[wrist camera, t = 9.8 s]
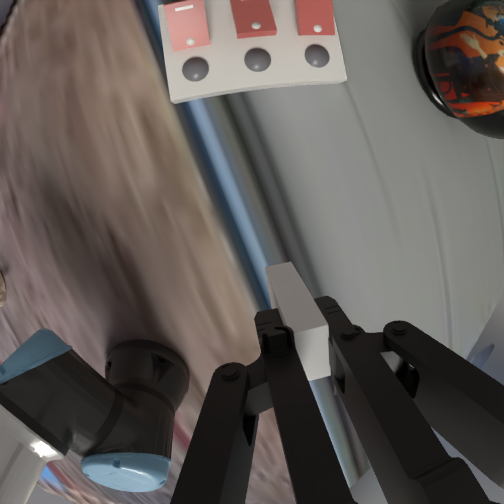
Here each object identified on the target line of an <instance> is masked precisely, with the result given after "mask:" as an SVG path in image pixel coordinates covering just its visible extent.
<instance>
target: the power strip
mask: <svg viewBox="0 0 504 504" xmlns="http://www.w3.org/2000/svg"><path fill="white" fill-rule="evenodd" d="M269 3H270V6H271V10H272V13H273V17H274V20H275V24H276V27H277V33H276V35H273V36H261V37H251V38H242V39H237V34H236V29H235V24H234V19H233V15H232V10H231V5H230V0H204V7H205V14H206V20H207V26H208V33H209V39H210V45H205V46H199V47H194V48H189V49H184V50H179V51H175V52H173V48H172V43H171V39H170V34H169V30H168V25H167V20H166V16H165V11H164V6H163V5H164V4H162V5H158V10H159V19H160V27H161V35H162V43H163V50H164V58H165V65H166V72H167V79H168V85H169V92H170V98H171V101H172V102H173V103H174V104H176V103H181V102H186V101H190V100H195V99H201V98H206V97H211V96H217V95H223V94H229V93H236V92H243V91H250V90H258V89H267V88H276V87H287V86H299V85H315V84H339V83H341V82H344V81H346V80H347V77H346V71H345V66H344V61H343V55H342V50H341V46H340V41H339V36H338V32H337V27H336V23H335V19H334V26H335V35H301V36H298V31H297V21H296V12H295V4H294V0H269ZM333 15H334V14H333Z"/></svg>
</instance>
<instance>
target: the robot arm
mask: <svg viewBox="0 0 504 504" xmlns="http://www.w3.org/2000/svg"><path fill="white" fill-rule="evenodd" d="M265 271H266V277H267V283H268V289H269V295H270V301H271V306H272V309H270V310H265V311H260V312H257V314H256V316H255V318H254V320H255V325H256V330H257V335H258V340H259V344H260V349H261V354H260V356H259V358H258V359H257V360H256V361H255V362H253V363H251V364H250V365H247V366H244V365H243V364H240V363H235V362H232V363H226V364H224V365H221V366H220V367H218V368H217V369H216V370H215V372H214V373H213V376H212V379H211V382H210V385H209V388H208V391H207V394H206V397H205V400H204V403H203V406H202V409H201V412H200V415H199V418H198V421H197V424H196V427H195V430H194V433H193V436H192V439H191V442H190V445H189V448H188V451H187V454H186V457H185V460H184V463H183V466H182V469H181V472H180V475H179V478H178V481H177V484H176V487H175V490H174V493H173V496H172V499H171V502H170V504H245V499H246V494H247V488H248V482H249V476H250V470H251V464H252V458H253V452H254V446H255V439H256V433H257V427H258V420H259V413H261V412H263V411H266V410H268V409H270V408H272V407H273V408H274V412H275V416H276V421H277V425H278V429H279V434H280V438H281V442H282V446H283V451H284V455H285V459H286V463H287V468H288V472H289V476H290V480H291V484H292V488H293V493H294V497H295V501H296V504H358V503H357V502H355V501H354V499H353V498H352V495H351V493H350V490H349V487H348V485H347V482H346V479H345V477H344V474H343V471H342V469H341V466H340V463H339V461H338V458H337V455H336V453H335V450H334V447H333V445H332V442H331V439H330V437H329V434H328V431H327V429H326V426H325V423H324V421H323V418H322V416H321V413H320V410H319V408H318V405H317V402H316V400H315V397H314V394H313V392H312V389H311V387H310V384H309V381H311V380H315V379H319V378H322V377H326V376H330V367H331V369H332V371H333V373H334V395H337V390H338V393H339V395H340V397H341V399H342V401H343V403H344V406H345V408H346V410H347V412H348V414H349V417H350V419H351V421H352V423H353V425H354V428H355V430H356V432H357V434H358V437H359V439H360V441H361V443H362V445H363V448H364V450H365V452H366V454H367V457H368V459H369V461H370V463H371V466H372V468H373V470H374V472H375V475H376V477H377V479H378V482H379V484H380V486H381V488H382V491H383V493H384V495H385V498H386V500H387V502H388V504H500V503H496V502H492V501H490V500H489V499H488V497H487V496H486V494H485V492H484V491H483V489H482V487H481V486H480V484H479V482H478V481H477V479H476V478H475V476H474V474H473V473H472V471H471V470H470V468H469V467H468V465H467V464H466V463H465V461H464V460H463V459H461V458H459V457H456V458H452V457H450V456H449V455H448V453H447V452H446V450H445V449H444V447H443V446H442V444H441V442H440V441H439V439H438V438H437V436H436V435H435V433H434V432H433V430H432V429H431V427H432V428H433V429H434V430H435V431H436V432H438V433H439V434H440V435H441V436H442V437H443V438H444V439H445V440H446V441H448V442H449V443H450V444H451V445H452V446H453V447H454V448H456V449H457V450H458V451H459V452H460V453H461V454H462V455H463V456H465V457H466V458H467V459H468V460H469V461H470V462H471V463H472V464H474V465H475V466H476V467H477V468H478V469H479V470H480V471H481V472H483V473H484V474H485V475H486V476H487V477H488V478H489V479H490V480H492V481H493V482H495V483H496V484H497V485H499V486H500V487H501V488H503V489H504V386H503V385H502V384H501V383H499V382H498V381H496V380H495V379H493V378H492V377H490V376H489V375H487V374H486V373H484V372H483V371H482V370H480V369H479V368H477V367H476V366H474V365H473V364H471V363H470V362H468V361H467V360H465V359H464V358H462V357H461V356H459V355H458V354H456V353H455V352H453V351H452V350H450V349H449V348H447V347H446V346H444V345H443V344H441V343H440V342H438V341H437V340H435V339H433V338H432V337H430V336H429V335H427V334H426V333H424V332H423V331H421V330H420V329H418V328H417V327H415V326H413V325H412V324H410V323H408V322H406V321H400V320H399V321H392V322H389V323H388V324H387V325H385V327H384V329H383V332H378V333H366V332H365V331H364V330H363V329H362V328H361V327H359V326H357V325H352V323H351V322H350V320H349V319H348V317H347V316H346V315H345V313H344V312H343V311H342V309H341V308H340V306H339V305H338V303H337V302H336V300H335V299H333V298H331V297H329V296H324V297H320V298H315V299H313V298H312V296H311V294H310V293H309V291H308V289H307V288H306V286H305V284H304V283H303V281H302V279H301V278H300V276H299V274H298V273H297V271H296V269H295V268H294V266H293V264H292V263H291V262H287V263H283V264H278V265H273V266H268V267H265ZM409 364H410V365H411V366H413V367H414V368H413V367H411V366H410V365H409ZM188 388H189V371H188V369H187V366H186V365H185V363H184V362H183V360H182V359H181V358H180V357H179V356H178V355H177V354H176V353H174V352H173V351H172V350H170V349H169V348H167V347H165V346H163V345H160V344H158V343H155V342H151V341H146V340H130V341H126V342H123V343H121V344H119V345H117V346H116V347H115V348H114V349H113V350H112V351H111V353H110V355H109V357H108V359H107V362H106V365H105V378H103V377H102V376H101V375H100V374H99V373H98V372H96V371H95V370H94V369H93V368H92V367H91V366H90V365H89V364H88V363H87V362H85V361H84V360H83V359H82V358H81V357H80V356H79V355H78V354H77V353H76V352H75V351H74V350H73V349H72V346H70V345H67V344H66V343H65V342H64V341H63V340H62V339H61V338H60V337H58V336H57V335H56V334H55V333H54V332H53V331H51V330H49V329H40V330H38V331H37V332H35V333H34V334H33V335H32V336H31V337H30V338H29V339H28V340H27V341H25V342H24V343H23V344H22V345H21V346H20V347H19V348H18V349H17V350H16V351H15V352H14V353H13V354H12V355H10V356H9V357H8V358H7V359H6V360H5V361H4V362H3V363H2V364H1V365H0V504H26V502H27V500H28V498H29V496H30V494H31V492H32V490H33V488H34V486H35V484H36V482H37V480H38V478H39V477H40V475H41V473H42V471H43V469H44V467H45V465H46V463H47V462H48V461H50V460H57V459H63V458H64V457H65V455H66V454H67V452H68V450H69V449H71V450H72V451H73V452H75V453H76V454H78V455H79V456H81V457H82V458H83V459H82V460H81V469H82V471H83V473H85V475H86V476H87V477H88V478H90V479H91V480H93V481H95V482H97V483H99V484H101V485H104V486H106V487H110V488H113V489H117V490H122V491H130V492H147V491H152V490H156V489H158V488H160V487H162V486H163V485H164V484H165V482H166V481H167V477H168V471H169V466H170V465H171V451H172V439H173V428H174V417H175V412H176V411H177V409H178V408H179V406H180V404H181V403H182V401H183V399H184V398H185V396H186V394H187V392H188ZM430 426H431V427H430Z"/></svg>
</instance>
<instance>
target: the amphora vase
mask: <svg viewBox="0 0 504 504" xmlns="http://www.w3.org/2000/svg"><path fill="white" fill-rule="evenodd" d="M414 64H415V68H416V73H417V77H418V79H419V81H420V84H421V86H422V88H423V90H424V92H425V93H426V95H427V96H428V98H429V99H430V101H431V102H432V103H433V104H434V105H435V106H436V107H437V108H438V109H439V110H440V111H442V112H443V113H444V114H446V115H447V116H450V117H453V118H456V119H459V120H460V121H461V122H463V123H464V124H465V125H467V126H468V127H469V128H470V129H472V130H474V131H475V132H477V133H480V134H482V135H485V136H488V137H492V138H497V139H504V0H449V1H448V2H446V3H444V4H443V5H441V6H439V7H438V8H437V9H436V11H435V12H434V14H433V16H432V17H431V19H430V20H429V22H428V24H427V28H426V29H425V30H424V31H422V32H421V33H420V35H419V36H418V38H417V39H416V43H415V47H414Z"/></svg>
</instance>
